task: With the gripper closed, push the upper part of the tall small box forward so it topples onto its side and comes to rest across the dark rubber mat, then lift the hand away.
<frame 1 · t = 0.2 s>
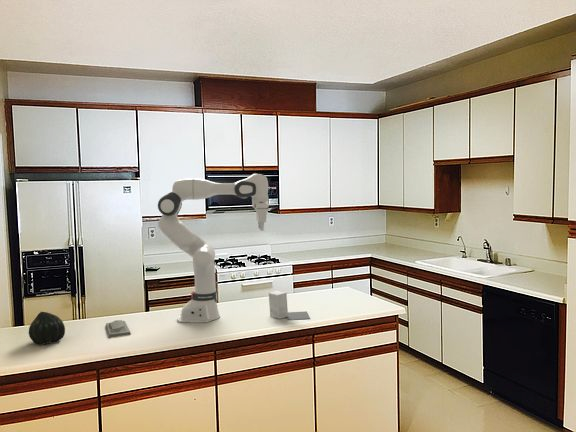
hand: (261, 229, 250), 47 cm above the worktop, tool pointing down, fingers open, 8 cm apart
soap mold: (117, 331, 233), on the worktop
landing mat: (297, 315, 251), on the worktop
small box: (279, 316, 250), on the worktop, touching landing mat
squash: (47, 342, 218), on the worktop
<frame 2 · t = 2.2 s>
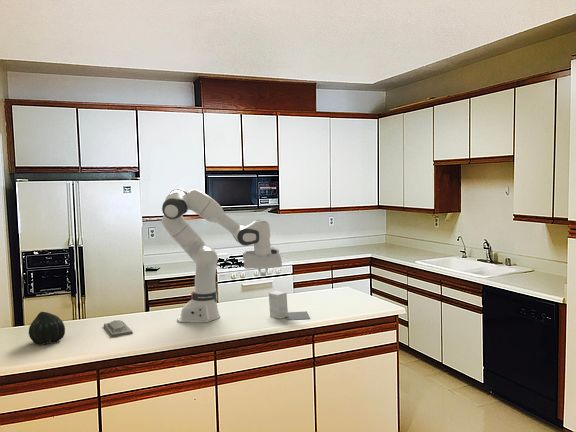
hand: (263, 276, 247), 22 cm above the worktop, tool pointing down, fingers closed
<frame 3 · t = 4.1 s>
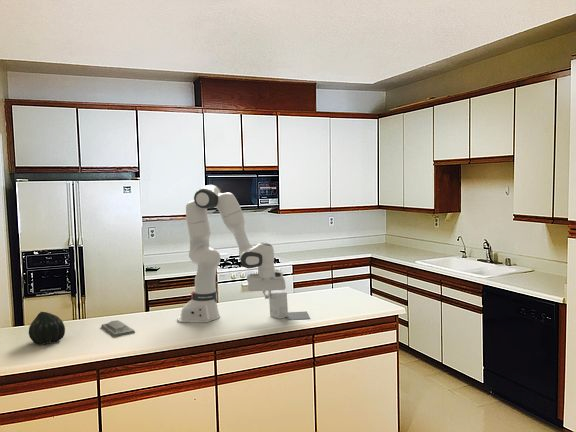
hand: (267, 298, 249), 10 cm above the worktop, tool pointing down, fingers closed
small box: (279, 316, 250), on the worktop, touching gripper, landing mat
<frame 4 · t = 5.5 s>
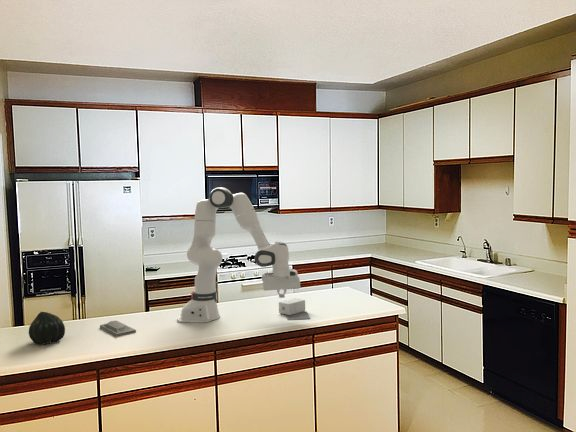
hand: (281, 297, 249), 10 cm above the worktop, tool pointing down, fingers closed
small box: (283, 308, 252), point 4 cm above the worktop, touching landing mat
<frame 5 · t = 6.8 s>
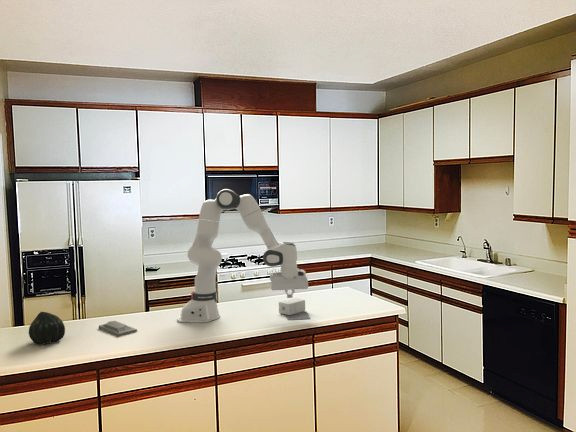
hand: (289, 297, 250), 10 cm above the worktop, tool pointing down, fingers closed
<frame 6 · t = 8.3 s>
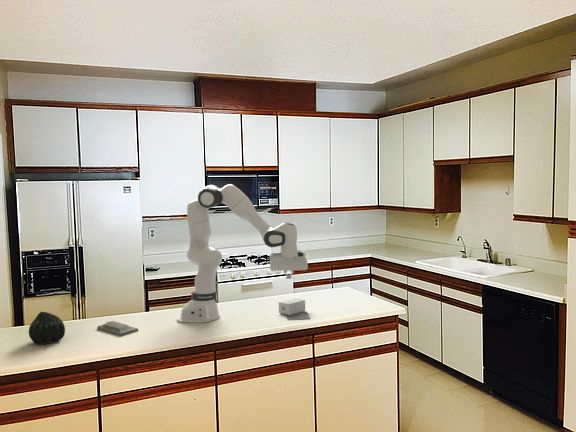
hand: (288, 278, 249), 21 cm above the worktop, tool pointing down, fingers closed
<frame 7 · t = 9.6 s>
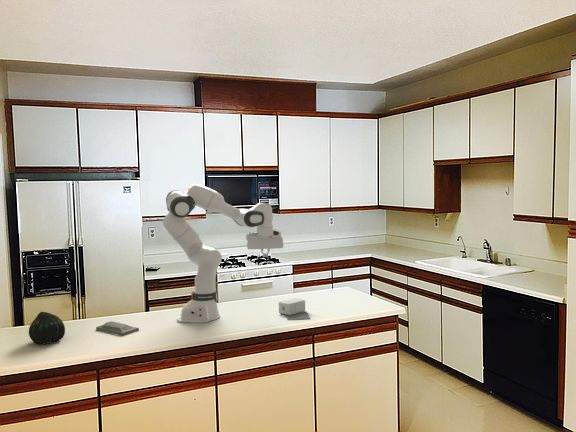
hand: (265, 256, 258), 31 cm above the worktop, tool pointing down, fingers closed
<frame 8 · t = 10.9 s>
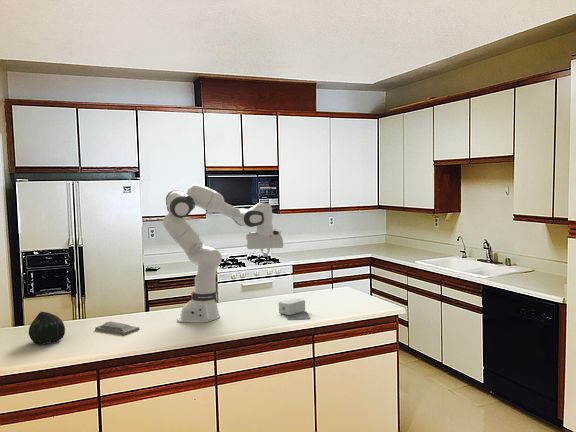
hand: (265, 256, 258), 31 cm above the worktop, tool pointing down, fingers closed
at the end: small box tilted 91°; small box touching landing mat, worktop; small box inside the target area (3.0 cm from its centre), point 3.5 cm above the worktop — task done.
